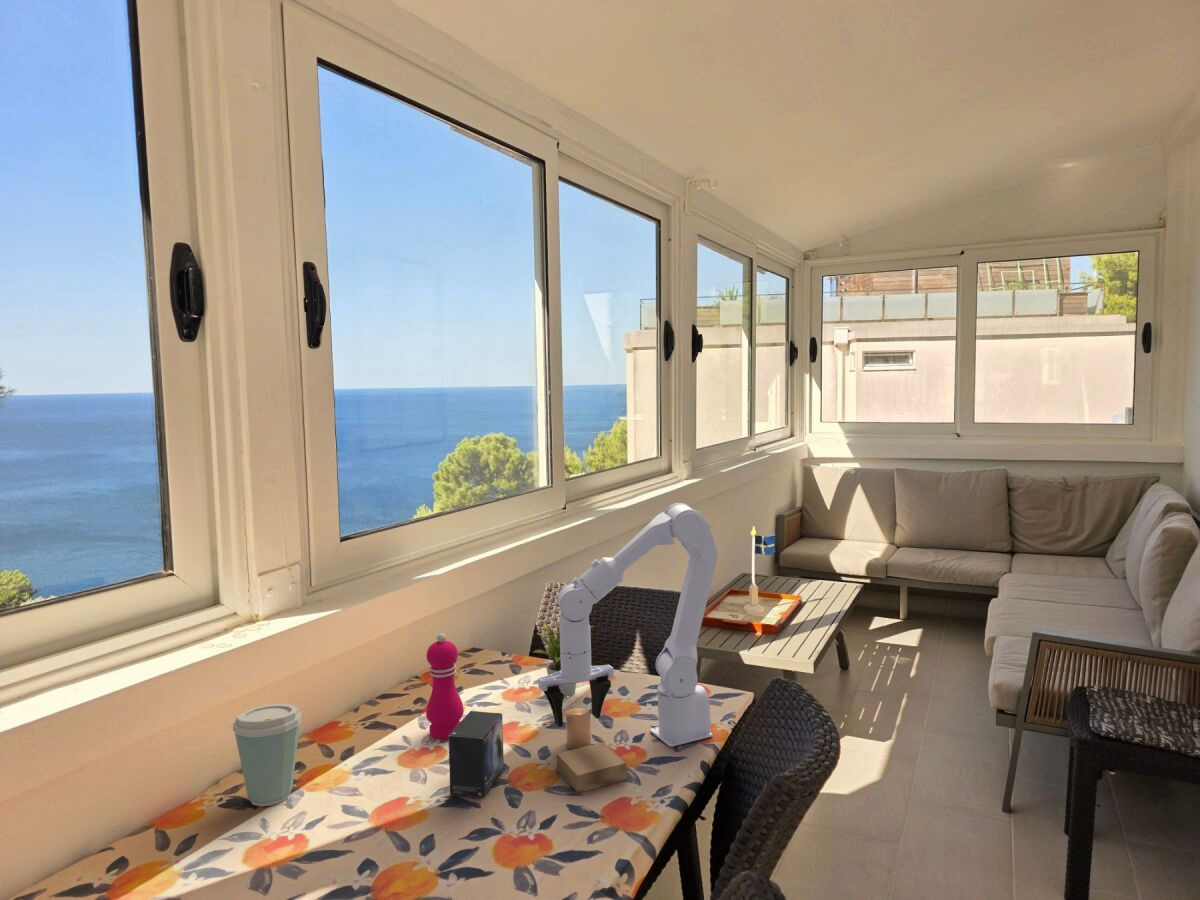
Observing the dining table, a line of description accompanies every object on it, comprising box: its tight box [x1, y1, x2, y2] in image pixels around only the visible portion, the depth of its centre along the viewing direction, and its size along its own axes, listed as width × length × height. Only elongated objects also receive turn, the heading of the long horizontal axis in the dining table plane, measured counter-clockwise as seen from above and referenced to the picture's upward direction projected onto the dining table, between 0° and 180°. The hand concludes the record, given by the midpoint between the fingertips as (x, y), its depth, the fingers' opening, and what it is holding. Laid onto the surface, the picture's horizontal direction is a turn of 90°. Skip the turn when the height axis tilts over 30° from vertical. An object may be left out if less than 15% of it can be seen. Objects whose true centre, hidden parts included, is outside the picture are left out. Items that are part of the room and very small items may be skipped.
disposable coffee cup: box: [232, 703, 303, 807], centre depth 131 cm, size 11×11×15 cm
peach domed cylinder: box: [565, 707, 592, 750], centre depth 148 cm, size 5×5×6 cm
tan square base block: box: [556, 742, 627, 794], centre depth 136 cm, size 9×9×3 cm
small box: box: [448, 710, 505, 799], centre depth 134 cm, size 11×6×10 cm, turn 168°
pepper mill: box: [425, 633, 465, 741], centre depth 154 cm, size 7×7×20 cm
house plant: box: [533, 620, 594, 698], centre depth 171 cm, size 14×14×16 cm
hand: (577, 720), depth 148 cm, fingers open, 7 cm apart
